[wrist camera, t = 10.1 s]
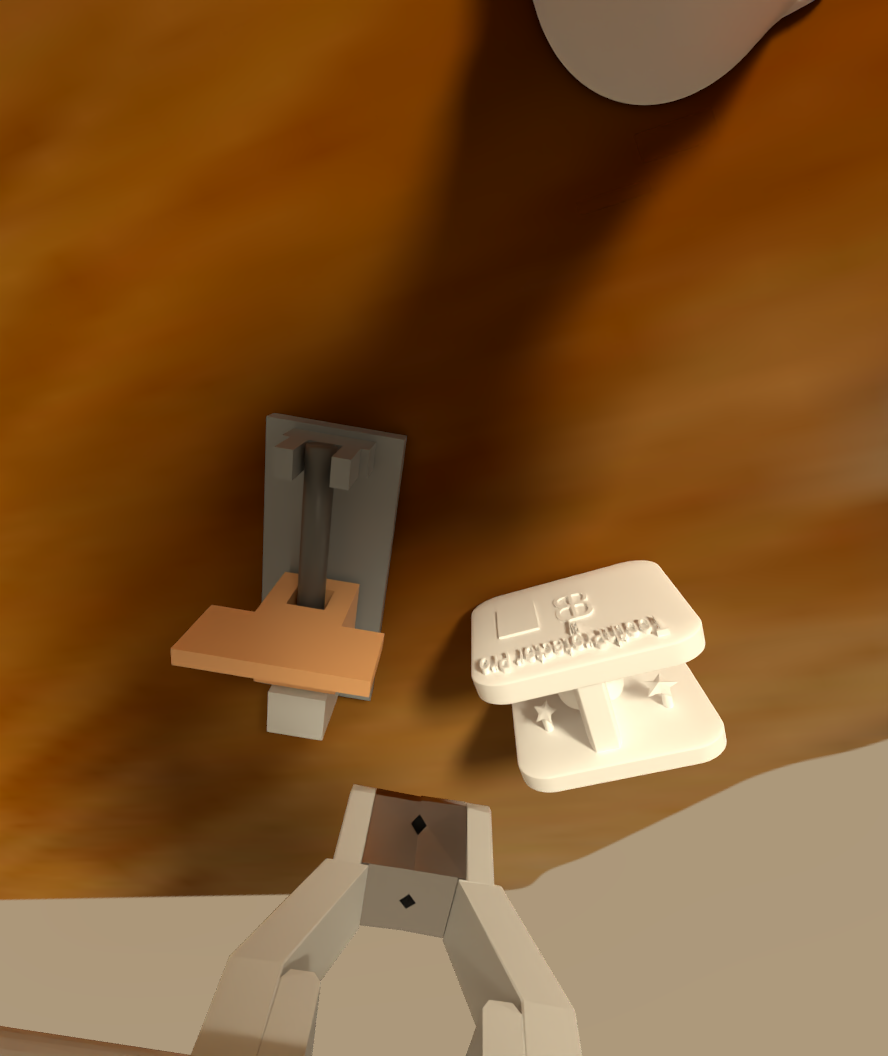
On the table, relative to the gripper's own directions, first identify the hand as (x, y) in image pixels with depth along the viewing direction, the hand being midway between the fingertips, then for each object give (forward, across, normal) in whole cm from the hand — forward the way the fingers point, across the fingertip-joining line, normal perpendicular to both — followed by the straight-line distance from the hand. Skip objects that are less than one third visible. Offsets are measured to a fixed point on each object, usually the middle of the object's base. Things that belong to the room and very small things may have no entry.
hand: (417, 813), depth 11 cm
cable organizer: (+29, -12, +12) cm, 34 cm away
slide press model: (+29, +9, +10) cm, 32 cm away
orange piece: (+27, +9, +13) cm, 32 cm away
